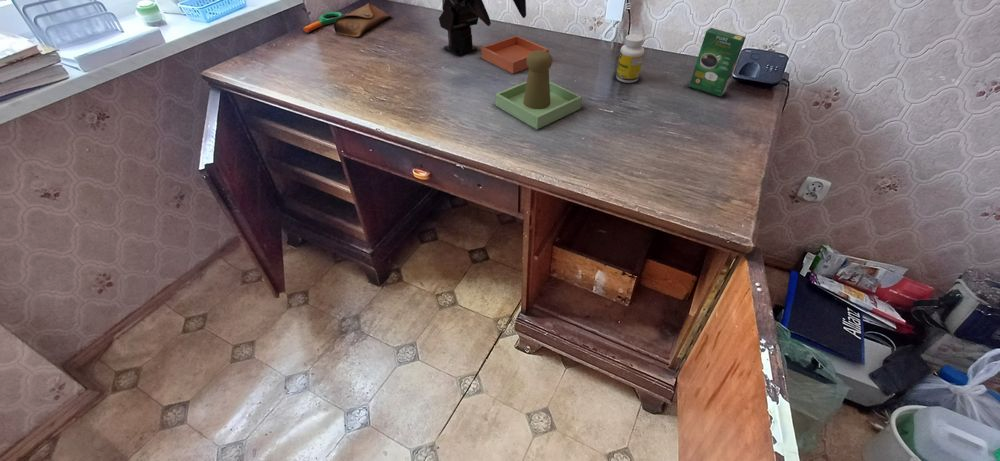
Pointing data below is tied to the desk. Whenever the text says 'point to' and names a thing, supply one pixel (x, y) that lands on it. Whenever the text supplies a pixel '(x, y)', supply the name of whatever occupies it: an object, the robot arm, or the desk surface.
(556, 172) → the desk surface
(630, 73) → the supplement bottle
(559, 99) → the sage tray
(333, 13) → the magnifying glass
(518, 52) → the terracotta tray
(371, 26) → the sunglasses case
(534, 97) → the olive pepper mill
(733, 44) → the coffee box
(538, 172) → the desk surface
